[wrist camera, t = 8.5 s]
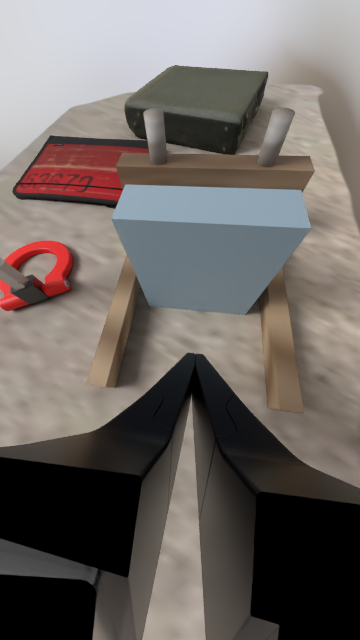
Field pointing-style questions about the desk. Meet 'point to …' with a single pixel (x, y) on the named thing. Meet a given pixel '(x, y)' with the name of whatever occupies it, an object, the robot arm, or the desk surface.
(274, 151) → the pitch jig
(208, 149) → the dark green electronics case
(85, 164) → the binder
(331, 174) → the desk surface
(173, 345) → the desk surface
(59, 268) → the tow hook
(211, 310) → the block
